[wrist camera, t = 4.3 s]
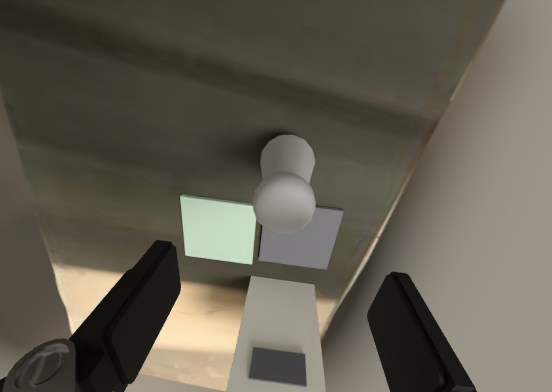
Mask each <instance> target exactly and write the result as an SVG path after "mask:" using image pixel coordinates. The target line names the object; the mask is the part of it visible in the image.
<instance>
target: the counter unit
mask: <svg viewBox="0 0 552 392" xmlns="http://www.w3.org/2000/svg"><path fill="white" fill-rule="evenodd" d="M226 392H326V390H325V380H324V371H323V362H322V353H321V343H320V334H319V325H318V316H317V307H316V297H315V288H314V284H307V283H300V282H293V281H285V280H278V279H271V278H263V277H256V276H251V279H250V284H249V288H248V293H247V298H246V302H245V307H244V311H243V316H242V321H241V325H240V330H239V335H238V339H237V344H236V348H235V353H234V358H233V362H232V367H231V371H230V376H229V381H228V385H227V390H226Z"/></svg>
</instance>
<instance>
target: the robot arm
mask: <svg viewBox="0 0 552 392" xmlns="http://www.w3.org/2000/svg"><path fill="white" fill-rule="evenodd" d="M180 290H181V283H180V276H179V268H178V260H177V252H176V247H175V246H173V245H172V242H168V241H161V240H157V241H155V242H154V243H153V245H152V246H151V247H150V248H149V249H148V251H147V252H146V253H145V254H144V255H143V257H142V258H141V259H140V260H139V261H138V263H137V264H136V265H135V266H134V267H133V269H130V270H128V271H127V272H126V273H125V274H124V275H123V276H122V277H121V278H120V280H119V281H118V282H117V283H116V284H115V286H114V287H113V288H112V289H111V290H110V291H109V293H108V294H107V295H106V296H105V297H104V298H103V300H102V301H101V302H100V303H99V304H98V305H97V307H96V308H95V309H94V310H93V311H92V313H91V314H90V315H89V316H88V317H87V318H86V320H85V321H84V322H83V323H82V324H81V325H80V327H79V328H78V329H77V330H76V331H75V333H74V334H73V335H72V336H71V337H70V338H69V339H65V338H60V339H53V340H50V341H47V342H44V343H42V344H40V345H38V346H37V347H35V348H33V349H32V350H30V351H29V352H28V353H26V354H25V355H24V356H23V357H22V358H20V359H19V360H18V361H17V362H16V363H15V365H14V366H13V367H12V369H11V370H10V371H9V373H8V375H7V377H5V378H3V379H1V380H0V392H124V391H125V389H126V387H127V385H128V384H131V383H133V382H134V380H135V379H136V377H137V375H138V373H139V371H140V369H141V367H142V365H143V364H144V362H145V360H146V358H147V356H148V354H149V352H150V350H151V348H152V346H153V344H154V342H155V340H156V338H157V337H158V335H159V333H160V331H161V329H162V327H163V325H164V323H165V321H166V319H167V317H168V315H169V313H170V311H171V309H172V308H173V306H174V304H175V302H176V300H177V298H178V296H179V294H180ZM367 318H368V322H369V326H370V329H371V332H372V335H373V338H374V341H375V345H376V348H377V351H378V354H379V357H380V361H381V364H382V367H383V370H384V373H385V377H386V380H387V383H388V386H389V389H390V392H477V391H476V389H475V386H474V385H473V383H472V381H471V380H470V378H469V376H468V375H467V373H466V371H465V370H464V368H463V366H462V364H461V363H460V361H459V359H458V358H457V356H456V354H455V353H454V351H453V349H452V348H451V346H450V344H449V343H448V341H447V339H446V337H445V336H444V334H443V332H442V331H441V329H440V327H439V326H438V324H437V322H436V320H435V319H434V317H433V315H432V314H431V312H430V310H429V309H428V307H427V305H426V304H425V302H424V300H423V298H422V297H421V295H420V293H419V292H418V290H417V289H416V287H415V285H414V283H413V282H412V280H411V278H410V277H409V275H408V274H406V273H399V272H391V273H390V275H387V276H386V277H385V279H384V281H383V283H382V285H381V287H380V289H379V291H378V293H377V295H376V297H375V299H374V301H373V303H372V305H371V307H370V309H369V311H368V314H367Z"/></svg>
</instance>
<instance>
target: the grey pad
mask: <svg viewBox="0 0 552 392" xmlns="http://www.w3.org/2000/svg"><path fill="white" fill-rule="evenodd" d="M343 212H344V211H343V209H339V208H331V207H324V206H317V205H316V206H315V210H314V213H313V217H312V220H311V221H310V222H309V223H308V224H307V225H306V226H305V227H304V228H303V229H302V230H299V231H297V232H294V233H291V234H277V233H275V232H272V231H270V230H267V229H266V228H264V227H263V228H262V237H261V246H260V256H259V260H260V261H268V262H275V263H282V264H290V265H297V266H304V267H312V268H319V269H327V266H328V263H329V259H330V256H331V253H332V249H333V246H334V243H335V239H336V236H337V233H338V229H339V226H340V223H341V219H342V216H343Z"/></svg>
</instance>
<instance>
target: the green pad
mask: <svg viewBox="0 0 552 392" xmlns="http://www.w3.org/2000/svg"><path fill="white" fill-rule="evenodd" d="M180 200H181V211H182V222H183V233H184V244H185V255H186V256H194V257H201V258H208V259H216V260H223V261H230V262H238V263H245V264H252V261H253V250H254V239H255V228H256V216H255V213H254V211H253V204H251V203H244V202H236V201H229V200H221V199H214V198H206V197H199V196H191V195H184V194H182V195H181V196H180Z"/></svg>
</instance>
